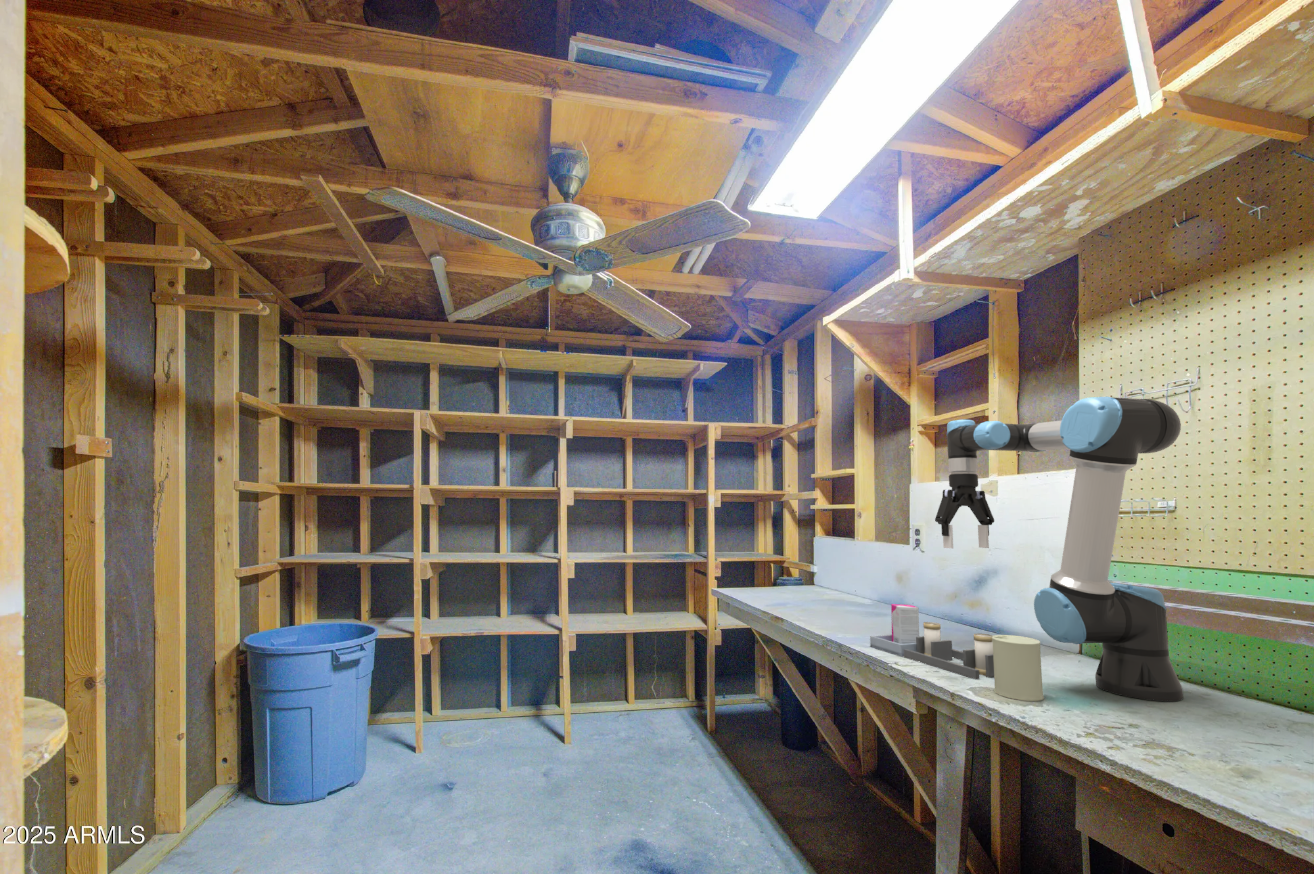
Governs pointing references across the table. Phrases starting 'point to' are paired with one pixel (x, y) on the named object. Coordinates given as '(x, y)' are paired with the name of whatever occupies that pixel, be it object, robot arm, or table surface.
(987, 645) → the cylinder
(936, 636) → the cylinder
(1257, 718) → the table surface
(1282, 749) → the table surface
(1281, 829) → the table surface
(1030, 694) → the can
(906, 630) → the supplement box
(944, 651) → the holder
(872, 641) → the tray
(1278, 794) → the table surface
